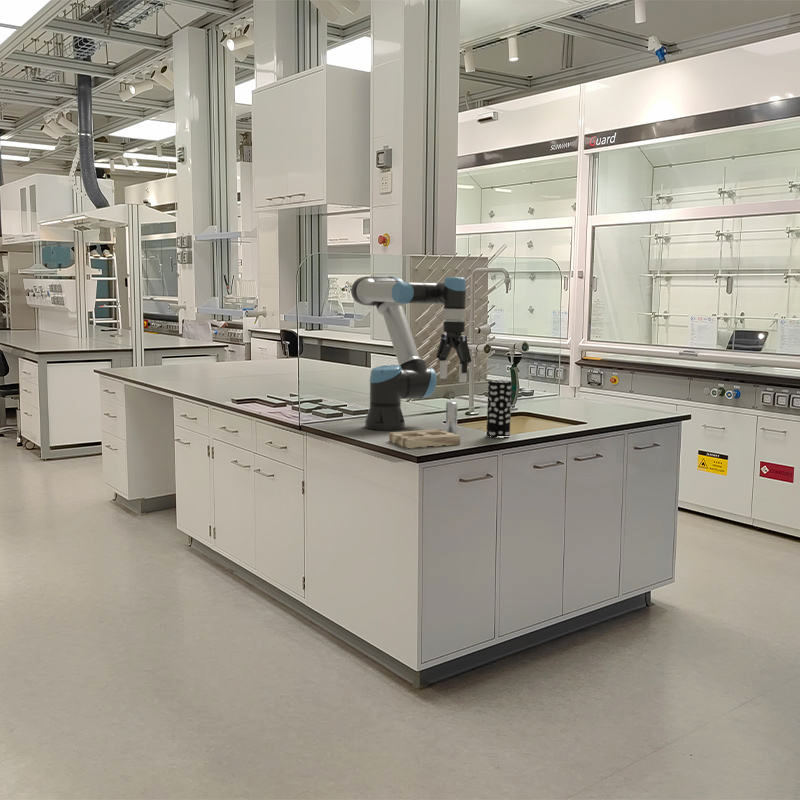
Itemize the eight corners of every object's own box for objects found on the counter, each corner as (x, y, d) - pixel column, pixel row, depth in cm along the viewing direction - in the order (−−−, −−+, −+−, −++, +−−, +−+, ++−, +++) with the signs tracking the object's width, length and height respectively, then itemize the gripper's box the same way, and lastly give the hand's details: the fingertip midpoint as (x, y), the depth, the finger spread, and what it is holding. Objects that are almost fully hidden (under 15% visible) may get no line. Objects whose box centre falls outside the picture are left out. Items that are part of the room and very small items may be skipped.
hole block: (389, 441, 273) (389, 432, 273) (439, 437, 283) (439, 429, 282) (408, 448, 261) (408, 439, 261) (460, 444, 270) (460, 435, 270)
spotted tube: (511, 438, 283) (514, 383, 280) (488, 438, 282) (490, 382, 280) (506, 434, 291) (508, 380, 289) (484, 434, 291) (486, 380, 288)
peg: (443, 434, 288) (444, 402, 286) (453, 434, 290) (453, 401, 288) (449, 436, 284) (450, 403, 283) (458, 435, 286) (459, 403, 285)
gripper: (482, 322, 272) (480, 383, 275) (445, 319, 294) (444, 376, 297) (463, 322, 269) (462, 384, 271) (428, 319, 291) (426, 377, 293)
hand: (452, 380), depth 284 cm, fingers open, 13 cm apart
